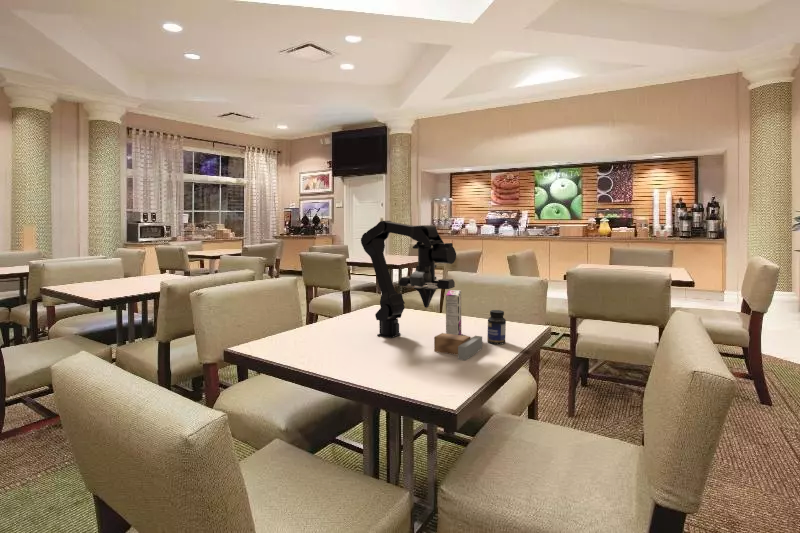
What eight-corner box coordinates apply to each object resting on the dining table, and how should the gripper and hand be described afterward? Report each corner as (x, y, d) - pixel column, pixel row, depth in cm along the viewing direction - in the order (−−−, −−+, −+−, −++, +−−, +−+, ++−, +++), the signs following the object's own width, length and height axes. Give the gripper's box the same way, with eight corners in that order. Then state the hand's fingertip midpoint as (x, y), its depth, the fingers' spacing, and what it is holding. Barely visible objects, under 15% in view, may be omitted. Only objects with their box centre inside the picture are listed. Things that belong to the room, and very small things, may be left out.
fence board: (458, 359, 145) (458, 346, 145) (475, 347, 158) (475, 335, 158) (465, 360, 144) (465, 347, 144) (482, 348, 157) (482, 336, 157)
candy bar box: (448, 333, 178) (448, 289, 176) (461, 333, 177) (462, 290, 175) (445, 340, 167) (445, 294, 166) (459, 341, 166) (459, 295, 165)
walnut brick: (434, 352, 154) (434, 336, 153) (442, 347, 159) (442, 333, 159) (463, 356, 149) (463, 340, 148) (470, 351, 154) (470, 336, 154)
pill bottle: (483, 342, 164) (484, 311, 163) (493, 339, 169) (493, 308, 168) (499, 345, 160) (500, 313, 159) (508, 342, 164) (509, 311, 163)
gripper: (390, 263, 159) (391, 309, 160) (441, 265, 150) (441, 314, 151) (406, 260, 168) (407, 303, 170) (455, 262, 159) (455, 308, 161)
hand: (426, 307), depth 163 cm, fingers closed
